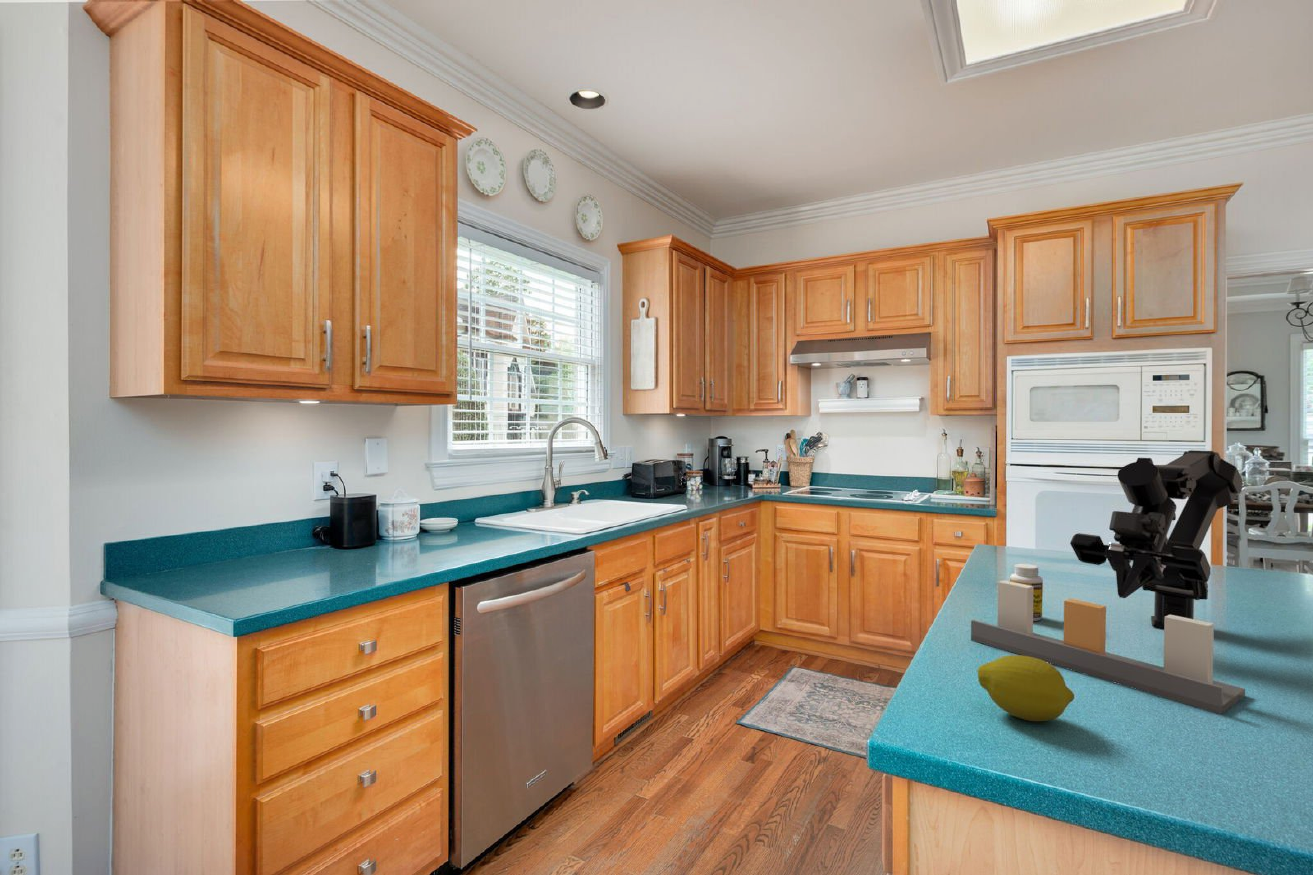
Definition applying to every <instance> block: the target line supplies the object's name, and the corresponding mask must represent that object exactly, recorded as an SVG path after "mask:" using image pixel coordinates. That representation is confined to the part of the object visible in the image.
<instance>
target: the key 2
mask: <svg viewBox="0 0 1313 875" xmlns="http://www.w3.org/2000/svg"><path fill="white" fill-rule="evenodd" d="M1214 628H1215V623H1213V622H1208V621H1203V620H1198V619H1189V618H1184V617H1180V616H1175V615H1168V616H1165V618H1164V628H1163V629H1164V630H1163V632H1164V633H1163V667H1164V671H1166V672H1170V673H1173V674H1177V675H1181V676H1184V677H1188V678H1192V679H1196V680H1199V681H1203V682H1207V683H1211V684H1213V681H1214V680H1213V679H1214V677H1213V676H1214V635H1215V634H1214V630H1215V629H1214Z"/></svg>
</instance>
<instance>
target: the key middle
mask: <svg viewBox="0 0 1313 875" xmlns="http://www.w3.org/2000/svg"><path fill="white" fill-rule="evenodd" d="M1106 626H1107V606H1106V605H1102V604H1097V603H1092V602H1087V601H1083V600H1078V599H1074V598H1068V599H1065V600H1064V601H1063V641H1064V644H1065V645H1069V646H1073V647H1076V648H1080V649H1084V650H1088V651H1091V652H1095V653H1099V654H1103V655H1105V652H1106V640H1107V639H1106V638H1107V637H1106V635H1107V634H1106V633H1107V632H1106V631H1107V629H1106V628H1107V627H1106Z"/></svg>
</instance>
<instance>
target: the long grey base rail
mask: <svg viewBox="0 0 1313 875" xmlns="http://www.w3.org/2000/svg"><path fill="white" fill-rule="evenodd" d="M970 624H971V625H970V640H971V641H973V642H975V643H979V644H982V645H987V646H990V647H993V648H995V649H999V650H1003V651H1006V652H1009V653H1013V654H1015V655H1022V656H1029V657H1034V658H1037V659H1041V660H1043V661H1045V662H1048V663H1051V665H1053V664H1056V665H1058V666H1057V667H1059V666H1061V667H1060V668H1063V667H1064V668H1063V669H1066V668H1069V669H1068V670H1070V669H1072V670H1071V671H1073V670H1075V671H1074V672H1076V671H1077V672H1078V673H1080V674H1083V673H1085V674H1084V675H1086V674H1087V676H1091V677H1093V678H1097V679H1101V680H1103V681H1107V682H1110V683H1113V682H1116V683H1115V684H1117V683H1119V684H1118V685H1120V684H1121V685H1120V686H1123V685H1124V687H1127V688H1130V687H1133V688H1136V689H1135V690H1137V689H1138V690H1137V691H1140V692H1144V691H1145V692H1144V693H1147V692H1149V693H1148V694H1150V693H1151V694H1150V695H1154V696H1157V697H1160V696H1161V697H1160V698H1164V699H1167V700H1171V701H1175V702H1178V703H1181V704H1184V705H1188V706H1191V707H1194V708H1198V709H1200V710H1201V709H1202V710H1205V711H1207V712H1212V713H1214V714H1218V715H1223V714H1224V713H1225V712H1226V711H1228V710H1229V709H1230V708H1232V707H1233V706H1234V705H1235V704H1236V703H1238V702H1239V701H1241V700H1242V699H1243V698H1244V697H1246V688H1245V687H1244V688H1243V687H1239V686H1236V685H1232V684H1229V683H1225V682H1220V681H1217V680H1213V684H1211V683H1207V682H1203V681H1199V680H1196V679H1192V678H1188V677H1184V676H1181V675H1177V674H1173V673H1170V672H1166V671H1164V666H1160V665H1156V664H1153V663H1150V662H1149V663H1148V662H1145V661H1141V660H1137V659H1133V658H1129V657H1127V656H1122V655H1119V654H1115V653H1110V652H1107V651H1105V655H1103V654H1099V653H1095V652H1091V651H1088V650H1084V649H1080V648H1076V647H1073V646H1069V645H1065V644H1064V640H1062V639H1058V638H1055V637H1052V636H1046V635H1043V634H1040V633H1035V632H1033V636H1032V635H1028V634H1024V633H1021V632H1017V631H1013V630H1009V629H1006V628H1002V627H998V625H994V624H991V623H987V622H984V621H979V620H975V619H972V620H971V621H970ZM1056 665H1055V666H1056ZM1133 688H1132V689H1133Z"/></svg>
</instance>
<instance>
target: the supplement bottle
mask: <svg viewBox="0 0 1313 875" xmlns="http://www.w3.org/2000/svg"><path fill="white" fill-rule="evenodd" d="M1009 581H1010V582H1015V583H1020V584H1025V585H1029V586H1034V589H1033V622H1037V621H1041V619H1042V618H1043V595H1044V594H1043V592H1044V590H1043V589H1044V588H1043V587H1044V586H1043V584H1044V583H1043V581H1044V580H1043V577H1042V576H1040V575H1039V567H1038V566H1037V565H1035V564H1028V563H1017V564H1015V565H1014V573H1011V575H1010V576H1009Z"/></svg>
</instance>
